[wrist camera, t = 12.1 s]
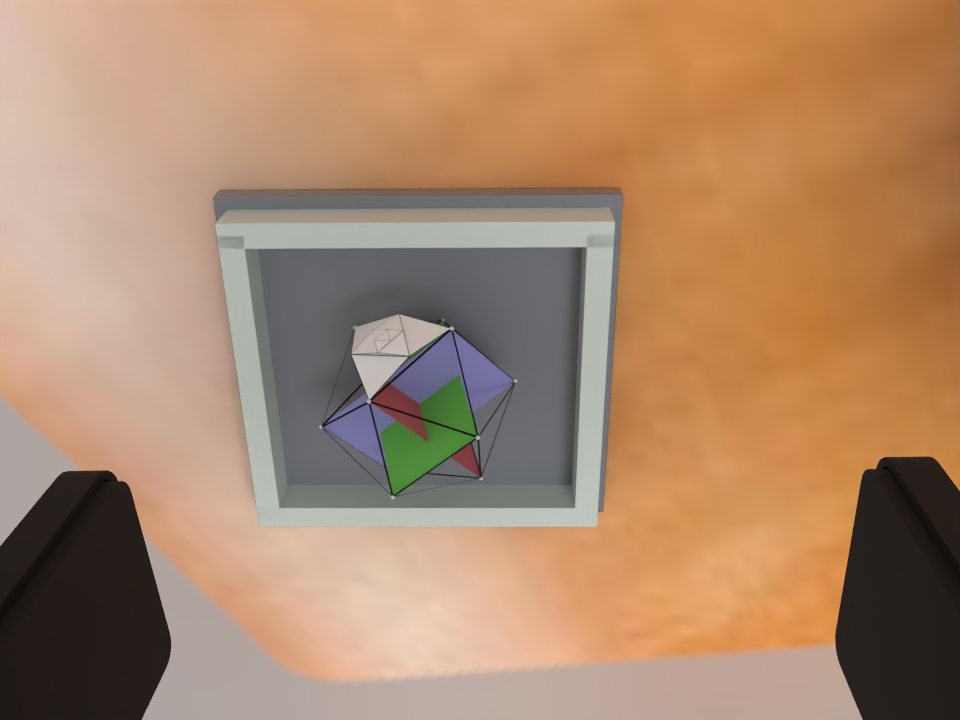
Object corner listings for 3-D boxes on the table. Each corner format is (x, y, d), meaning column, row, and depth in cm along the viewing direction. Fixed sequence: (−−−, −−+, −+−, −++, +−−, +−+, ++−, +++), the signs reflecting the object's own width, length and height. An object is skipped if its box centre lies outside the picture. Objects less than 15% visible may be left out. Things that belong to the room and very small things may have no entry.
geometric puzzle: (567, 433, 37) (495, 435, 30) (441, 518, 39) (344, 539, 32) (480, 293, 39) (392, 263, 32) (364, 381, 41) (256, 372, 34)
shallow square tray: (619, 187, 36) (629, 208, 33) (600, 499, 42) (607, 535, 40) (220, 190, 36) (199, 210, 33) (263, 499, 43) (249, 535, 40)
